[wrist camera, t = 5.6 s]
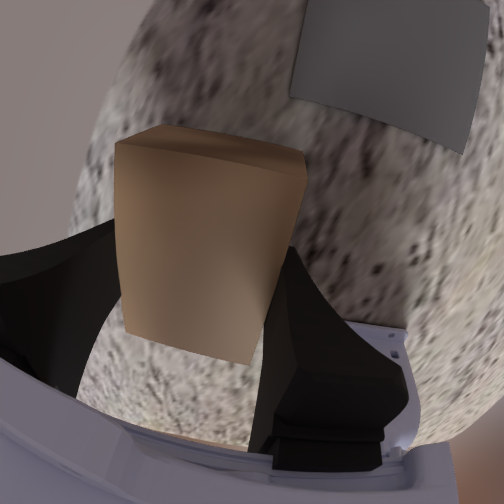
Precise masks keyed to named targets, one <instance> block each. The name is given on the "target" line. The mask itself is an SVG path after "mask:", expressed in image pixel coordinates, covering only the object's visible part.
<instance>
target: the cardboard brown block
mask: <svg viewBox="0 0 504 504" xmlns="http://www.w3.org/2000/svg"><path fill="white" fill-rule="evenodd" d="M307 182H308V175H307V170H306V164H305V159H304V154H303V151H300V150H296V149H292V148H288V147H284V146H280V145H275V144H271V143H267V142H262V141H258V140H253V139H248V138H243V137H238V136H233V135H228V134H222V133H217V132H211V131H205V130H199V129H193V128H186V127H179V126H172V125H164V124H161V125H158V126H156V127H153V128H150V129H148V130H145V131H143V132H140V133H138V134H135V135H133V136H130V137H128V138H126V139H123V140H121V141H118V142H116V143H115V156H114V218H115V239H116V254H117V264H118V272H119V280H120V288H121V303H122V311H123V318H124V325H125V331H126V332H127V333H130V334H133V335H136V336H139V337H142V338H145V339H148V340H151V341H155V342H158V343H161V344H165V345H168V346H171V347H175V348H178V349H182V350H186V351H189V352H193V353H197V354H201V355H205V356H209V357H213V358H217V359H221V360H225V361H229V362H234V363H238V364H243V365H247V366H250V363H251V360H252V357H253V355H254V352H255V349H256V346H257V343H258V340H259V337H260V334H261V331H262V328H263V325H264V322H265V319H266V316H267V313H268V310H269V307H270V304H271V300H272V297H273V294H274V291H275V288H276V284H277V281H278V277H279V274H280V270H281V266H282V265H283V263H284V259H285V256H286V253H287V250H288V247H289V243H290V240H291V237H292V233H293V230H294V227H295V223H296V220H297V217H298V213H299V210H300V207H301V203H302V200H303V196H304V193H305V189H306V186H307Z"/></svg>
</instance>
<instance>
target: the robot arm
mask: <svg viewBox="0 0 504 504" xmlns="http://www.w3.org/2000/svg"><path fill="white" fill-rule="evenodd" d="M120 297H121V288H120V280H119V272H118V264H117V254H116V239H115V218H114V219H112V220H109V221H107V222H105V223H102V224H100V225H98V226H95V227H93V228H91V229H88V230H86V231H84V232H81V233H79V234H76V235H74V236H71V237H69V238H67V239H64V240H61V241H58V242H56V243H52V244H50V245H46V246H43V247H40V248H36V249H32V250H28V251H24V252H20V253H15V254H10V255H4V256H0V504H459V500H458V492H457V485H456V478H455V472H454V466H453V460H452V455H451V450H450V445H449V442H440V443H433V444H426V445H421V446H418V447H415V448H413V449H411V450H410V451H406V449H407V448H408V447H409V446H410V445H411V443H412V442H413V440H414V438H415V436H416V434H417V431H418V428H419V423H420V412H421V409H420V401H419V396H418V392H417V388H416V384H415V380H414V377H413V373H412V369H411V366H410V362H409V359H408V356H407V352H406V349H405V346H404V341H405V340H406V338H407V337H408V332H407V330H405V329H398V328H390V327H383V326H376V325H369V324H362V323H355V322H349V321H344V320H343V319H342V318H341V317H340V316H339V315H338V314H337V313H336V311H335V310H334V309H333V308H332V307H331V306H330V304H329V303H328V302H327V301H326V299H325V298H324V297H323V295H322V294H321V292H320V291H319V290H318V288H317V287H316V285H315V284H314V282H313V280H312V279H311V277H310V275H309V274H308V272H307V270H306V268H305V266H304V265H303V263H302V261H301V259H300V257H299V255H298V253H297V251H296V249H295V248H294V247H291V246H289V247H288V250H287V253H286V256H285V259H284V263H283V265H282V266H281V270H280V274H279V277H278V281H277V284H276V288H275V291H274V294H273V297H272V300H271V304H270V307H269V310H268V313H267V316H266V319H265V322H264V334H263V360H262V369H261V376H260V383H259V389H258V395H257V402H256V408H255V413H254V419H253V425H252V430H251V436H250V441H249V446H248V451H247V452H243V451H236V450H231V449H225V448H220V447H215V446H210V445H206V444H201V443H197V442H193V441H188V440H184V439H180V438H177V437H173V436H169V435H165V434H162V433H159V432H156V431H152V430H149V429H146V428H143V427H140V426H137V425H134V424H131V423H128V422H125V421H122V420H120V419H117V418H114V417H112V416H109V415H107V414H104V413H102V412H100V411H98V410H96V409H94V408H92V407H90V406H88V405H87V404H85V403H83V402H81V401H79V400H77V399H76V396H77V392H78V388H79V385H80V381H81V378H82V375H83V372H84V369H85V366H86V363H87V360H88V358H89V355H90V353H91V350H92V348H93V345H94V343H95V341H96V338H97V336H98V334H99V332H100V330H101V328H102V325H103V324H104V322H105V320H106V318H107V317H108V315H109V313H110V312H111V310H112V309H113V307H114V306H115V304H116V303H117V301H118V300H119V298H120Z"/></svg>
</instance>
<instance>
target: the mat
mask: <svg viewBox="0 0 504 504" xmlns="http://www.w3.org/2000/svg"><path fill="white" fill-rule="evenodd" d="M489 11H490V7H489V6H488V5H486V4H485V3H483V2H482V1H480V0H308V3H307V8H306V13H305V18H304V24H303V29H302V34H301V39H300V44H299V49H298V54H297V59H296V63H295V68H294V73H293V78H292V83H291V88H290V93H289V97H294V98H298V99H303V100H307V101H311V102H315V103H319V104H323V105H327V106H331V107H335V108H338V109H342V110H346V111H349V112H352V113H356V114H359V115H362V116H366V117H369V118H372V119H375V120H378V121H381V122H384V123H387V124H389V125H392V126H395V127H398V128H400V129H403V130H406V131H408V132H411V133H414V134H416V135H419V136H421V137H424V138H426V139H428V140H431V141H433V142H435V143H438V144H440V145H442V146H444V147H447V148H449V149H451V150H453V151H455V152H457V153H460V154H462V155H463V152H464V149H465V146H466V142H467V139H468V135H469V132H470V128H471V124H472V120H473V116H474V112H475V108H476V104H477V99H478V95H479V90H480V85H481V80H482V74H483V68H484V62H485V55H486V47H487V38H488V27H489Z"/></svg>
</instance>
